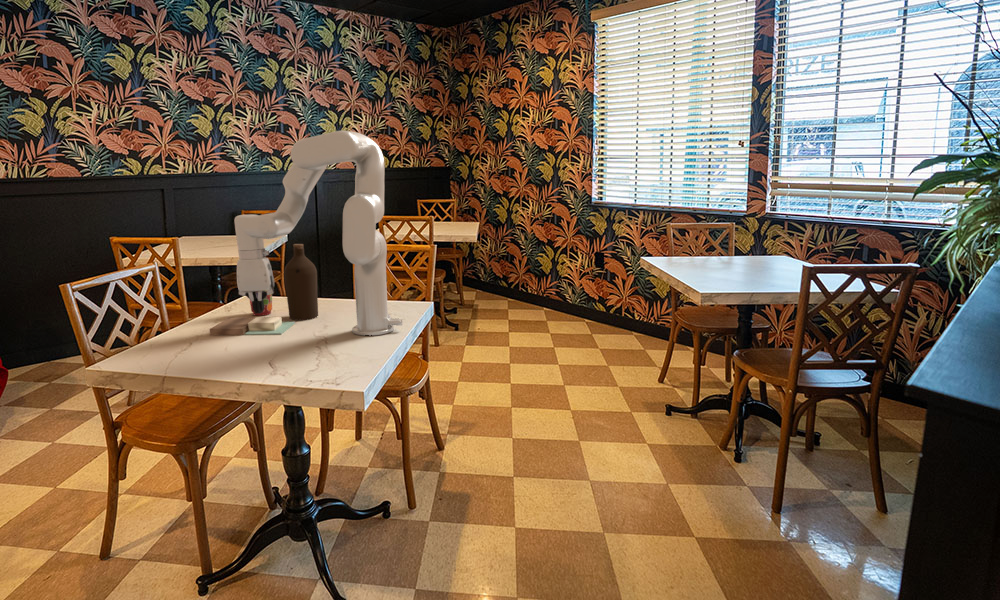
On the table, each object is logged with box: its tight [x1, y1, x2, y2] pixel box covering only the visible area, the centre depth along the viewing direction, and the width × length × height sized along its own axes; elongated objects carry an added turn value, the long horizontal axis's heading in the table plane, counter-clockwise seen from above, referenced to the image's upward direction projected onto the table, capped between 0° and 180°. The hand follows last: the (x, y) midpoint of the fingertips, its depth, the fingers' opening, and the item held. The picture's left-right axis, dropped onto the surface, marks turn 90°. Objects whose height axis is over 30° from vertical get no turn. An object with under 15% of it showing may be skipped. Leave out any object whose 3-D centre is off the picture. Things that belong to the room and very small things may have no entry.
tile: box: [248, 316, 283, 331], centre depth 189 cm, size 8×7×2 cm
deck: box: [209, 317, 256, 336], centre depth 189 cm, size 10×14×2 cm
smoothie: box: [249, 291, 273, 317], centre depth 206 cm, size 8×8×20 cm
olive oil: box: [283, 243, 319, 321], centre depth 201 cm, size 11×11×25 cm
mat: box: [244, 321, 296, 336], centre depth 189 cm, size 11×14×1 cm
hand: (259, 312), depth 188 cm, fingers closed
